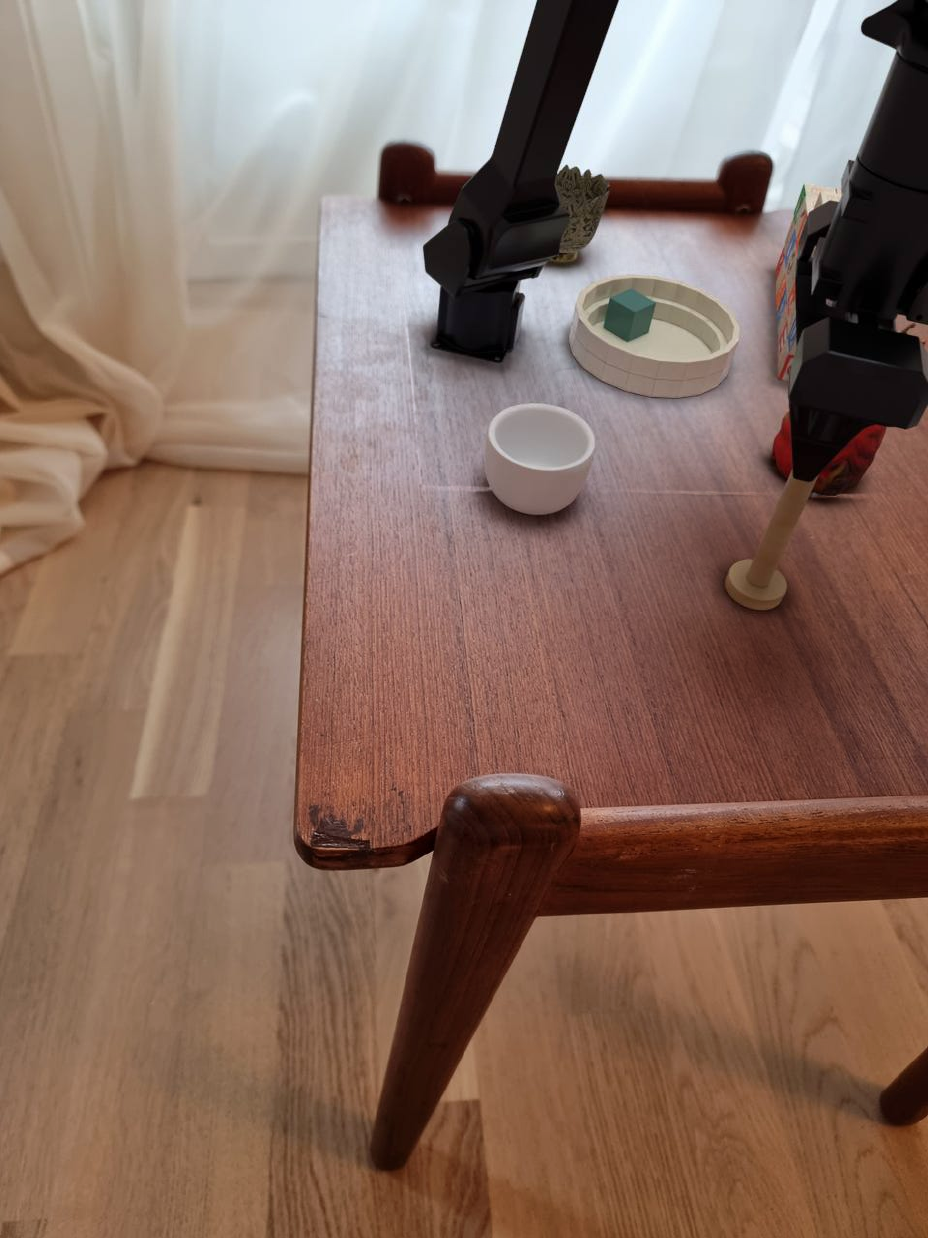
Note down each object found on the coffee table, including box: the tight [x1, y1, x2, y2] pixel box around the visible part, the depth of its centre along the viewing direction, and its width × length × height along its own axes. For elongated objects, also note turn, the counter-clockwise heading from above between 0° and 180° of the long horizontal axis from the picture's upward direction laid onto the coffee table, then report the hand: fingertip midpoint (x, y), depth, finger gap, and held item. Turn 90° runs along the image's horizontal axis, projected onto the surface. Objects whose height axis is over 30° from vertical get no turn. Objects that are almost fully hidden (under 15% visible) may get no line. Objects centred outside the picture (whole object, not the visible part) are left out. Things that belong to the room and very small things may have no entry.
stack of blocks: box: [775, 182, 842, 382], centre depth 89 cm, size 21×6×12 cm, turn 168°
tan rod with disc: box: [724, 471, 819, 611], centre depth 64 cm, size 4×4×12 cm
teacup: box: [484, 402, 596, 516], centre depth 71 cm, size 10×8×5 cm
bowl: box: [568, 273, 741, 399], centre depth 86 cm, size 14×14×4 cm
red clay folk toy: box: [771, 322, 927, 497], centre depth 72 cm, size 8×7×15 cm
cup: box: [547, 164, 611, 266], centre depth 95 cm, size 8×7×8 cm
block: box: [603, 289, 656, 342], centre depth 88 cm, size 3×3×3 cm
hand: (803, 433), depth 59 cm, fingers open, 9 cm apart
